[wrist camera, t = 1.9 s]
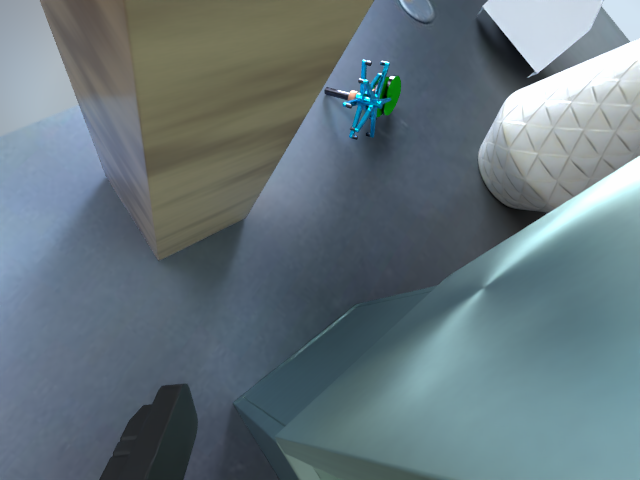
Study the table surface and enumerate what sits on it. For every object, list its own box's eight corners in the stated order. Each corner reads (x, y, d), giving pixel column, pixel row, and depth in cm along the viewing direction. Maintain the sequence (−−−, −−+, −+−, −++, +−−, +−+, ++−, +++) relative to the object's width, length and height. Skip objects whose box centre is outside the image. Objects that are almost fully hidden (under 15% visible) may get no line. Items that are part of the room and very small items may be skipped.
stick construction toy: (357, 150, 34) (372, 66, 29) (302, 132, 37) (309, 52, 32) (400, 128, 43) (417, 60, 38) (353, 114, 45) (364, 50, 41)
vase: (542, 148, 53) (768, 29, 33) (552, 247, 47) (840, 172, 27) (460, 101, 48) (671, -76, 28) (458, 205, 41) (732, 71, 21)
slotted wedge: (517, 82, 63) (616, -2, 56) (537, 73, 53) (661, -30, 45) (471, 25, 62) (566, -68, 55) (482, 6, 52) (600, -111, 45)
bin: (445, 443, 31) (581, 491, 21) (343, 582, 24) (470, 756, 14) (356, 303, 31) (446, 283, 21) (232, 402, 25) (276, 442, 14)
